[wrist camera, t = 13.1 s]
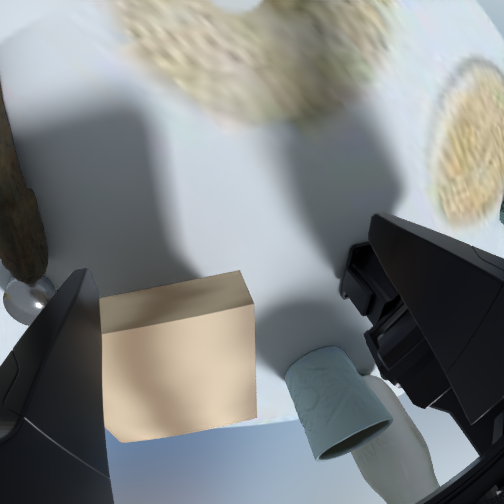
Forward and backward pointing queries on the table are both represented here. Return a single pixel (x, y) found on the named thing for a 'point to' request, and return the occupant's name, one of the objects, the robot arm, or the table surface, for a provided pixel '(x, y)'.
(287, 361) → the table surface
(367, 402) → the grey green cup
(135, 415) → the beige wooden box
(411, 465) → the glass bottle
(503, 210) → the can
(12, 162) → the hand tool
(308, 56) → the table surface
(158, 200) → the table surface
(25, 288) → the steel token
